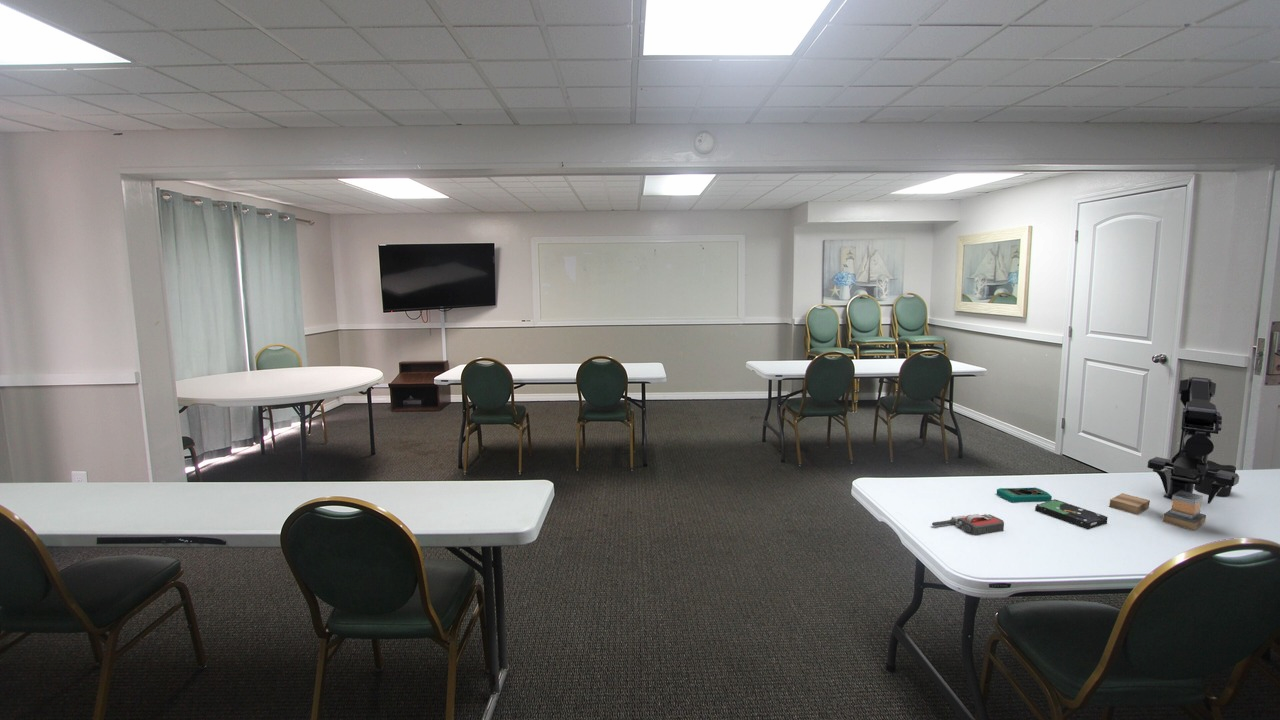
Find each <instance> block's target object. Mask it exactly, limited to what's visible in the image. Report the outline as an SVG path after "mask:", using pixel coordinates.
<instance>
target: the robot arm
mask: <svg viewBox="0 0 1280 720" xmlns="http://www.w3.org/2000/svg"><path fill="white" fill-rule="evenodd" d="M1177 385H1178V387H1177V391H1176V393H1177V395H1179V396H1178V398H1179V400H1180V402H1181V403H1182V405H1183V406H1184V408H1183V407H1182V410H1181V416H1180V417H1181V418H1180V419H1181V420H1180V429H1181V430H1180V437H1179V443H1178V444H1179V445H1178V449H1177V451H1175V452H1174V453H1173V454H1172V455H1171V456H1170V459H1168V458H1165V457H1159V456H1155V457H1153V458H1151V459H1149V460H1148V461H1147V467H1146V468H1148V469H1151V470H1152V472H1154V473H1156V474H1157V475H1158V476H1159V477H1160V480H1161V483H1162V487H1163V490H1164V492H1165V494H1163V497H1164V498H1168V499H1171V500H1173V499H1172V496H1173V494H1175V493H1177V492H1179V491H1180V490H1181V491H1185V492H1189V493H1194V485H1195V484H1197V485H1200V484H1203V480H1204V477H1209V478H1213V479H1214V480H1215V482H1213V483H1212V488H1211V491H1210V494H1208V497H1207V504H1208V505H1210V504H1211V503H1212V501H1213V500H1214V499H1215V497H1217V496H1216V495H1217V493H1218V492H1219V491H1220V490H1221V489H1222V488H1223V487H1225V488H1227V487H1228V486H1232V487H1234V486H1236V485H1237V484H1239V482H1240V476H1239V474H1238V473H1237V472H1235V473H1233V472H1228V471H1223V470H1220V471H1218V472H1212V471H1208V464H1207V460H1208V459H1209V455H1210V454H1211V453H1212V452H1213V451H1214V449H1215V445H1214V443H1213V440H1212V439H1211V438H1212V434H1215V435H1218V434H1219V431H1220V432H1221V430H1222V427H1223V426H1222V423H1223V422H1222V421H1223V418H1222V417H1223V416H1222V415H1221V412H1219V411H1218V410H1217V404H1214V403H1212V402H1211V398H1214V397H1215V395H1216V390H1217V388H1216V387H1217V383H1215V382H1213V381H1212V379H1211V378H1207V377H1197V376H1196V377H1195V376H1192V377H1188V378H1186V379H1182V380H1179V382H1178V384H1177Z"/></svg>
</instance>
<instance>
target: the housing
mask: <svg viewBox="0 0 1280 720" xmlns="http://www.w3.org/2000/svg"><path fill="white" fill-rule="evenodd" d="M1203 498H1204V496H1203V495H1201V494H1198V493H1194V492H1193V493H1189V492H1185V491H1181V490H1180V491H1179V492H1177V493H1175V494H1173V496H1172V499H1171V500H1172V503H1171V509H1170V514H1172V515H1175V516H1179V517H1183V518H1187V519H1190V520H1193V519H1195V518H1196V517H1198V516H1199V515H1200V513H1201V503H1202V501H1203Z"/></svg>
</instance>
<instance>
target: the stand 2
mask: <svg viewBox="0 0 1280 720" xmlns="http://www.w3.org/2000/svg"><path fill="white" fill-rule="evenodd" d="M1170 510H1171V509H1170ZM1170 510H1168V511H1166V512H1164V513H1163V517H1162V523H1165V524H1169V525H1174V526H1177V527H1180V528H1184V529H1187V530H1191V531H1195V530H1197V529H1199V528H1200V527H1201V526H1202V525H1204V524H1206V520H1207V514H1203V513H1201V512H1200V515H1199V516H1198V517H1196V518H1195V519H1193V520H1190V519H1187V518H1183V517H1179V516H1175V515H1172V514H1170Z"/></svg>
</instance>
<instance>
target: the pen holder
mask: <svg viewBox="0 0 1280 720" xmlns="http://www.w3.org/2000/svg"><path fill="white" fill-rule="evenodd" d="M1207 464H1208V471H1212V472H1218V471H1220V470H1223V471H1228V472H1233V473H1236V471H1237V467H1236V466H1235V465H1232V464H1220V463H1217V462H1215V461H1212V460H1208V459H1207ZM1213 482H1215V480H1214V479H1213V478H1209V477H1204V480H1203V484H1200V485H1197V484H1194V487H1193V489H1195V491H1197V492H1198V493H1202V494H1205V495H1209V494H1210V491H1211V488H1212V483H1213ZM1232 488H1233V486H1228V487H1227V488H1225V487H1223V488H1222V489H1221V490H1220V491H1219V492H1218V493H1217V495H1216V496H1215V497H1221V498H1222V497H1229V496H1231V492H1232Z"/></svg>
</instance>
